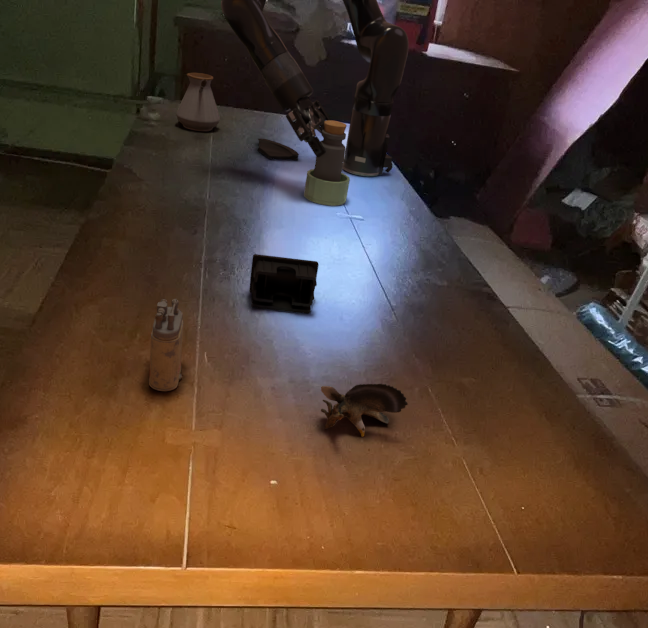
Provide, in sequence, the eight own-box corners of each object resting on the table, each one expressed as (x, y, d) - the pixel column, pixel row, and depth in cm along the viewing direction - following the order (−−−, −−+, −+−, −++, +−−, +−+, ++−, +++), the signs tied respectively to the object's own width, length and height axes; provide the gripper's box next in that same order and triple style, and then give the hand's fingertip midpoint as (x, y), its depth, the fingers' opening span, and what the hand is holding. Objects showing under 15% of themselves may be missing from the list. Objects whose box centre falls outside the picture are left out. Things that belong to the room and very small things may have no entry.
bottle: (309, 188, 161) (320, 117, 152) (335, 191, 161) (347, 121, 153) (312, 197, 156) (322, 124, 148) (338, 200, 157) (351, 128, 148)
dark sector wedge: (280, 145, 190) (281, 138, 189) (299, 161, 180) (300, 154, 179) (250, 143, 187) (250, 137, 186) (268, 160, 177) (268, 153, 176)
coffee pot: (174, 119, 196) (177, 59, 188) (217, 123, 199) (222, 64, 191) (177, 141, 179) (180, 76, 171) (224, 146, 182) (229, 82, 174)
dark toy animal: (351, 449, 82) (415, 422, 86) (333, 389, 81) (399, 364, 84) (322, 444, 89) (382, 419, 92) (305, 388, 88) (367, 365, 91)
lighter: (155, 360, 94) (158, 290, 88) (185, 363, 94) (189, 293, 89) (146, 390, 88) (149, 317, 82) (178, 394, 88) (182, 321, 83)
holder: (335, 191, 164) (339, 169, 162) (352, 206, 157) (356, 183, 155) (297, 190, 161) (301, 167, 158) (313, 205, 154) (316, 182, 151)
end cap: (311, 294, 117) (317, 255, 114) (313, 314, 111) (320, 274, 108) (249, 287, 116) (253, 247, 112) (248, 307, 110) (252, 266, 106)
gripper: (286, 74, 142) (331, 148, 146) (312, 67, 154) (353, 135, 158) (259, 97, 147) (303, 168, 150) (286, 88, 158) (326, 154, 162)
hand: (329, 151), depth 154 cm, fingers open, 8 cm apart
